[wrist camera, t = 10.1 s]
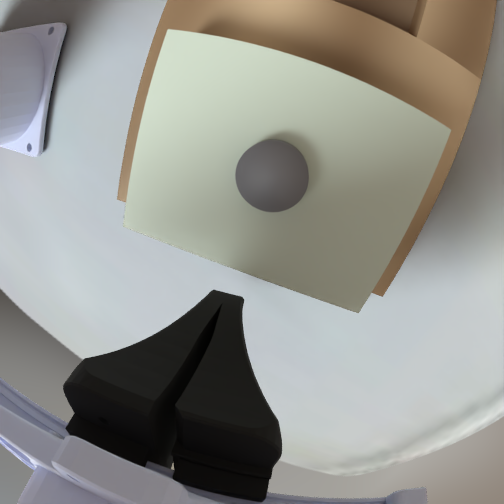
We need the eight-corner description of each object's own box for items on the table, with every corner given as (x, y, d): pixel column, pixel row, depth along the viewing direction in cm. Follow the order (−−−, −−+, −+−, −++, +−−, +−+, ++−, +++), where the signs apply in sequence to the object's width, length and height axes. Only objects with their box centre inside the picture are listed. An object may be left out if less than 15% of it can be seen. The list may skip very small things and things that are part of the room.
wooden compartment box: (139, 187, 14) (92, 213, 10) (252, -113, 5) (236, -152, 2) (374, 272, 13) (391, 323, 10) (481, -32, 5) (517, -54, 2)
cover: (145, 210, 12) (114, 233, 10) (188, 40, 8) (159, 24, 6) (352, 286, 12) (360, 323, 10) (429, 125, 8) (460, 131, 6)
